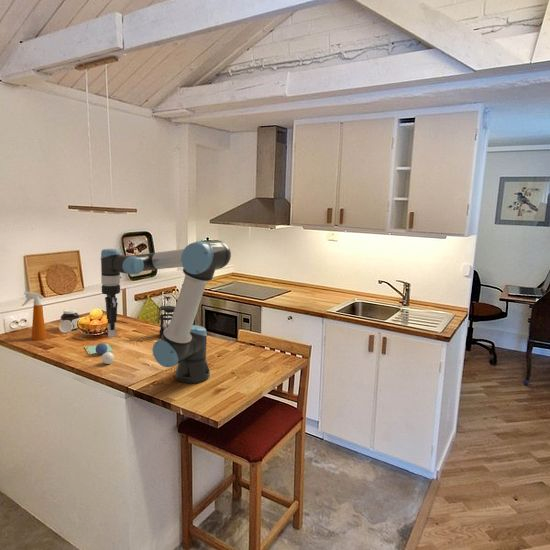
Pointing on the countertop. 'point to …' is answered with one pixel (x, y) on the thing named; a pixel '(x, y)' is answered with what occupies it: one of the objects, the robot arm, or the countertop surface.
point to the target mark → (93, 349)
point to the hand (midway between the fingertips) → (111, 336)
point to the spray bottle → (37, 316)
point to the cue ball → (107, 358)
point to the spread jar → (69, 320)
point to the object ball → (101, 348)
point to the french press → (165, 325)
